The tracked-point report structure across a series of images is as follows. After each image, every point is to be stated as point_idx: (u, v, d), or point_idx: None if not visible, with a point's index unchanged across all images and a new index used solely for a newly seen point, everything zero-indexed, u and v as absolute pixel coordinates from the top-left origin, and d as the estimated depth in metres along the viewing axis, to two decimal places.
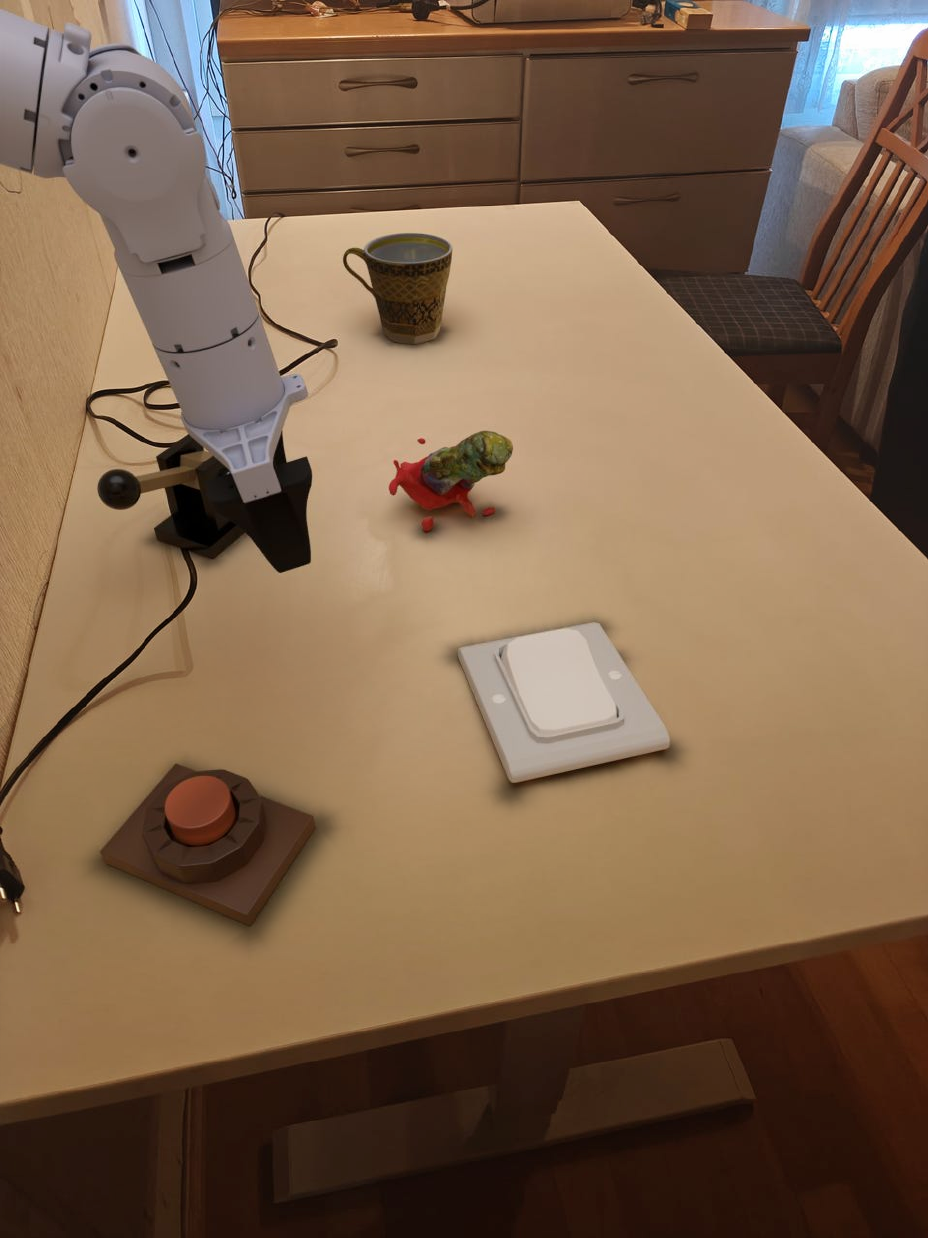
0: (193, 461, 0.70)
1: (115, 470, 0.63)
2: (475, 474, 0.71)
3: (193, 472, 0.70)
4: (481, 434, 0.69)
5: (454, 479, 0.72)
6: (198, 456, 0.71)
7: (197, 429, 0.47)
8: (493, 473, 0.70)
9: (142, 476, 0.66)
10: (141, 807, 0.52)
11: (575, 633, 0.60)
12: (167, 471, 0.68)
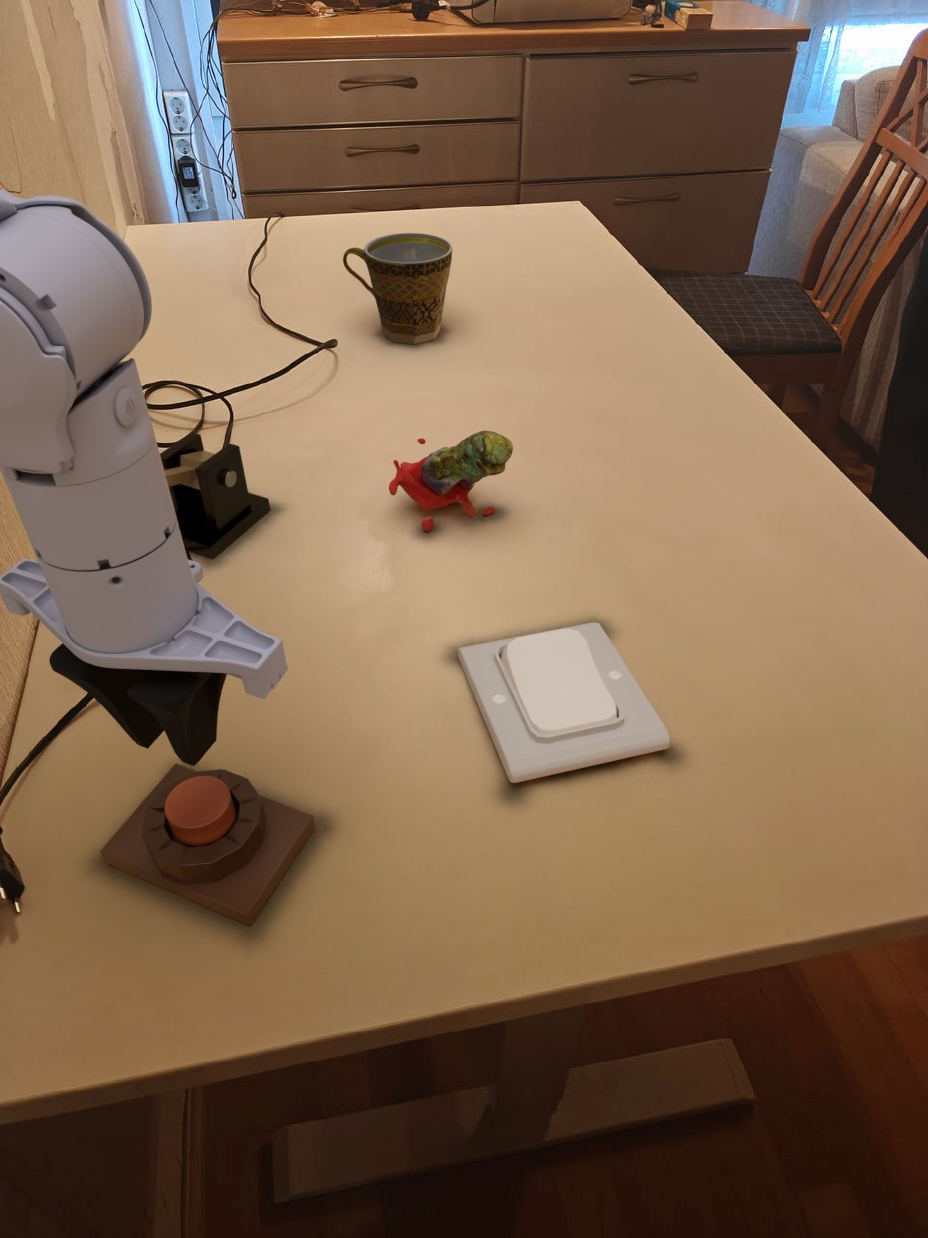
0: (193, 461, 0.70)
1: None
2: (475, 474, 0.71)
3: (193, 472, 0.70)
4: (481, 434, 0.69)
5: (454, 479, 0.72)
6: (198, 456, 0.71)
7: (134, 653, 0.37)
8: (493, 473, 0.70)
9: None
10: (141, 807, 0.52)
11: (575, 634, 0.60)
12: (167, 471, 0.68)
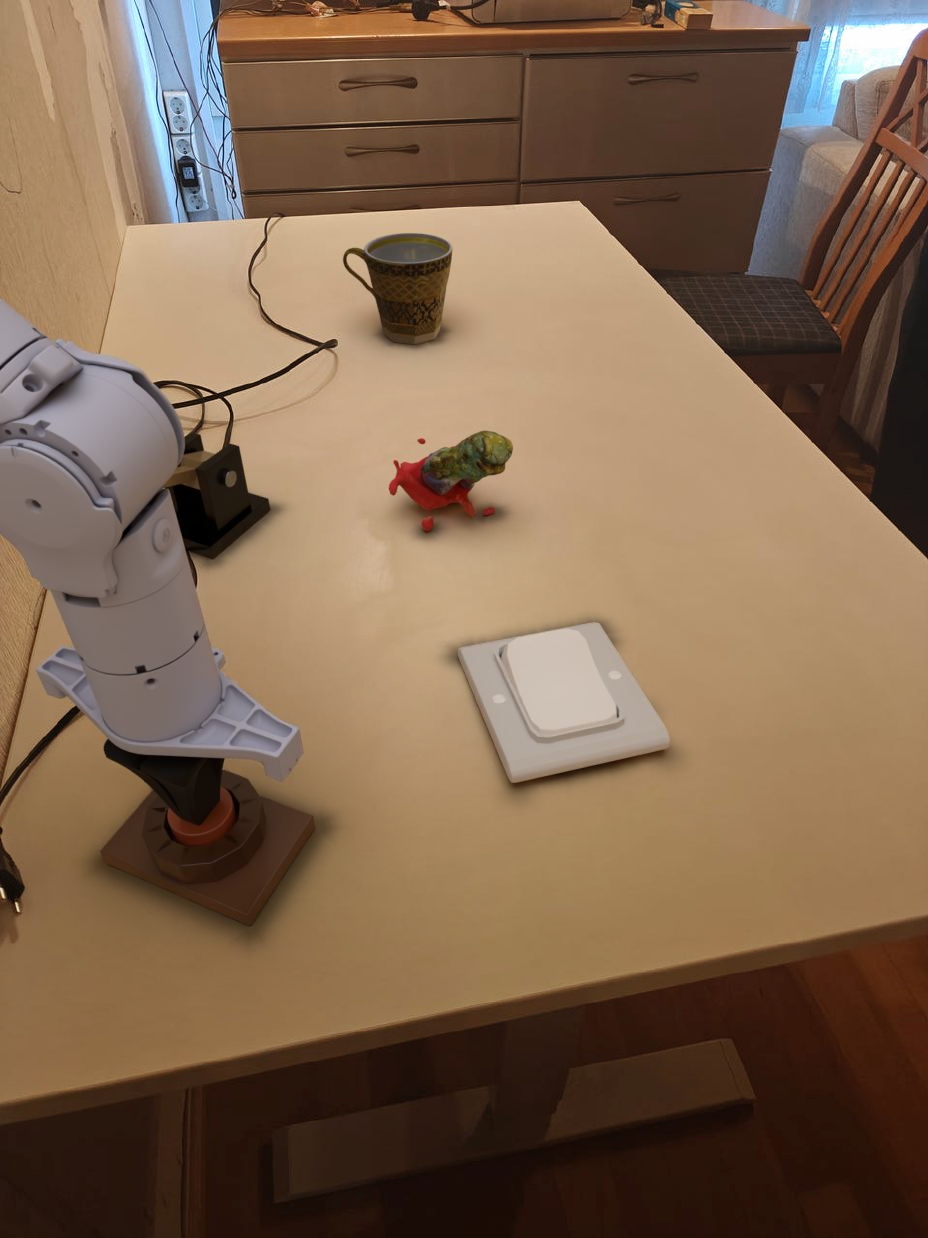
0: (193, 461, 0.70)
1: None
2: (475, 474, 0.71)
3: (193, 472, 0.70)
4: (481, 434, 0.69)
5: (454, 479, 0.72)
6: (198, 456, 0.71)
7: (166, 741, 0.41)
8: (493, 473, 0.70)
9: None
10: (141, 807, 0.52)
11: (575, 633, 0.60)
12: None
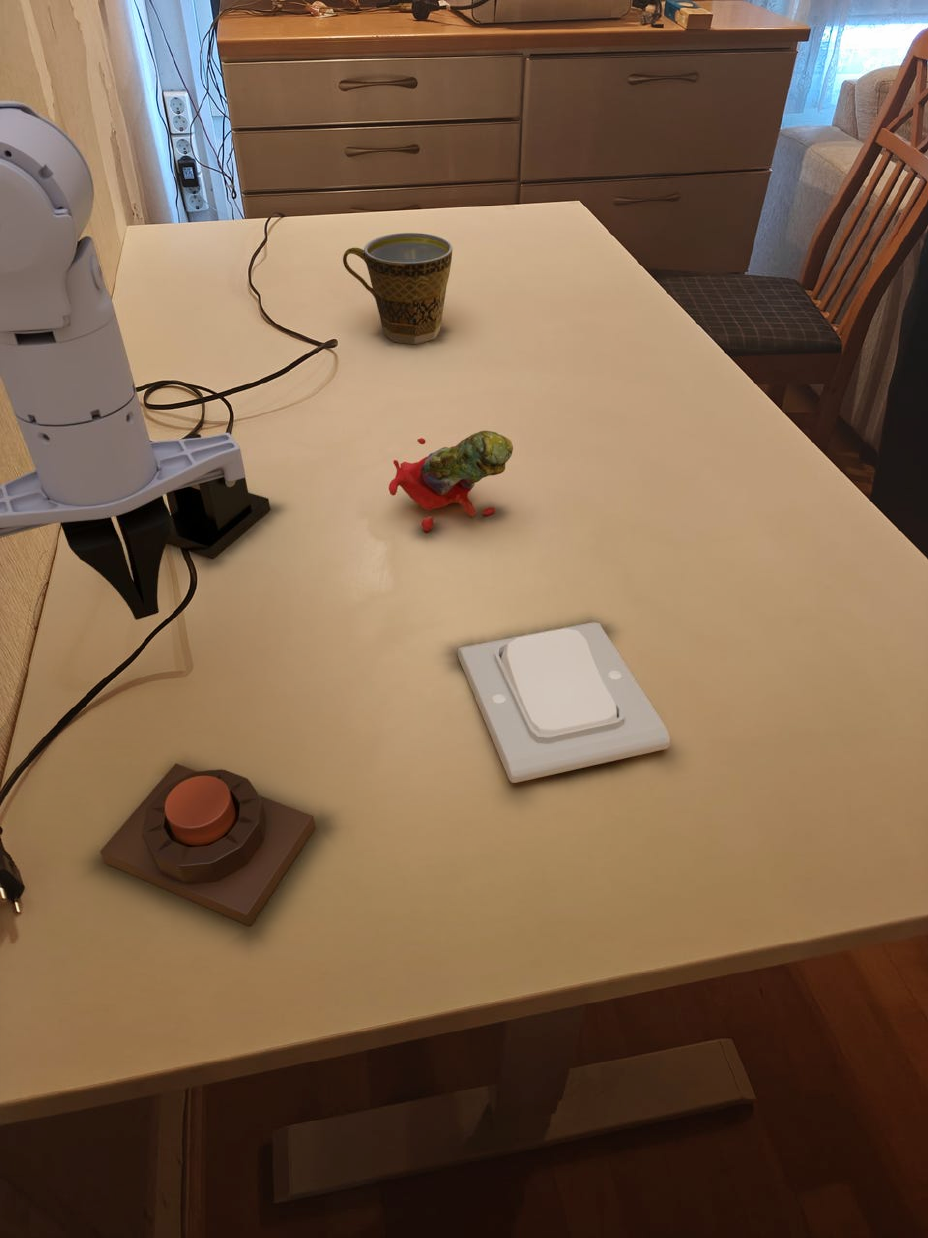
0: None
1: None
2: (475, 474, 0.71)
3: None
4: (481, 434, 0.69)
5: (454, 479, 0.72)
6: None
7: (148, 485, 0.45)
8: (493, 473, 0.70)
9: None
10: (141, 807, 0.52)
11: (575, 633, 0.60)
12: None
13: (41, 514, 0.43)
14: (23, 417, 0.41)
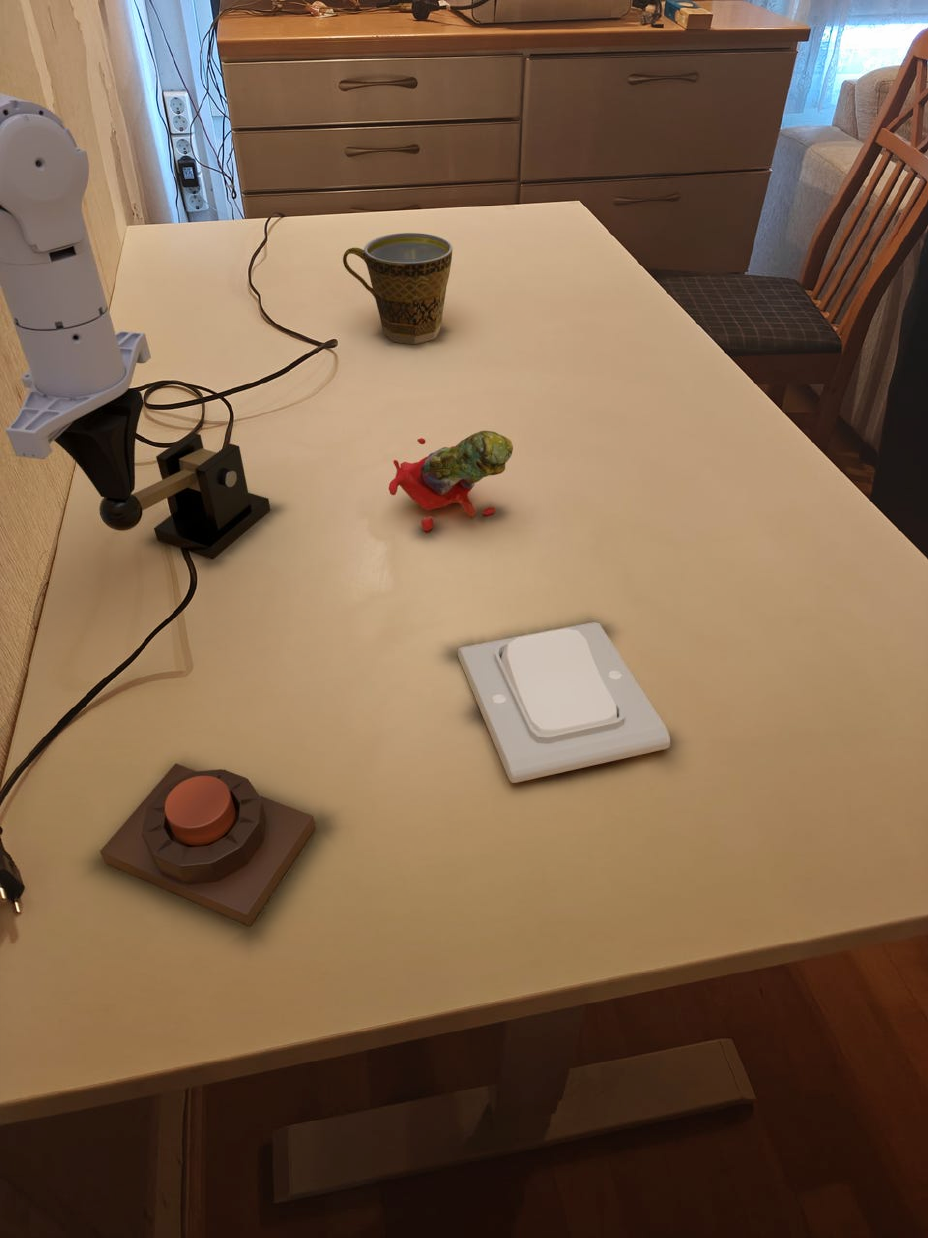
0: (192, 465, 0.70)
1: None
2: (475, 474, 0.71)
3: (192, 476, 0.70)
4: (481, 434, 0.69)
5: (454, 479, 0.72)
6: (196, 458, 0.71)
7: (126, 366, 0.59)
8: (493, 473, 0.70)
9: (142, 491, 0.67)
10: (141, 807, 0.52)
11: (575, 633, 0.60)
12: (167, 480, 0.69)
13: (83, 405, 0.55)
14: (48, 327, 0.53)
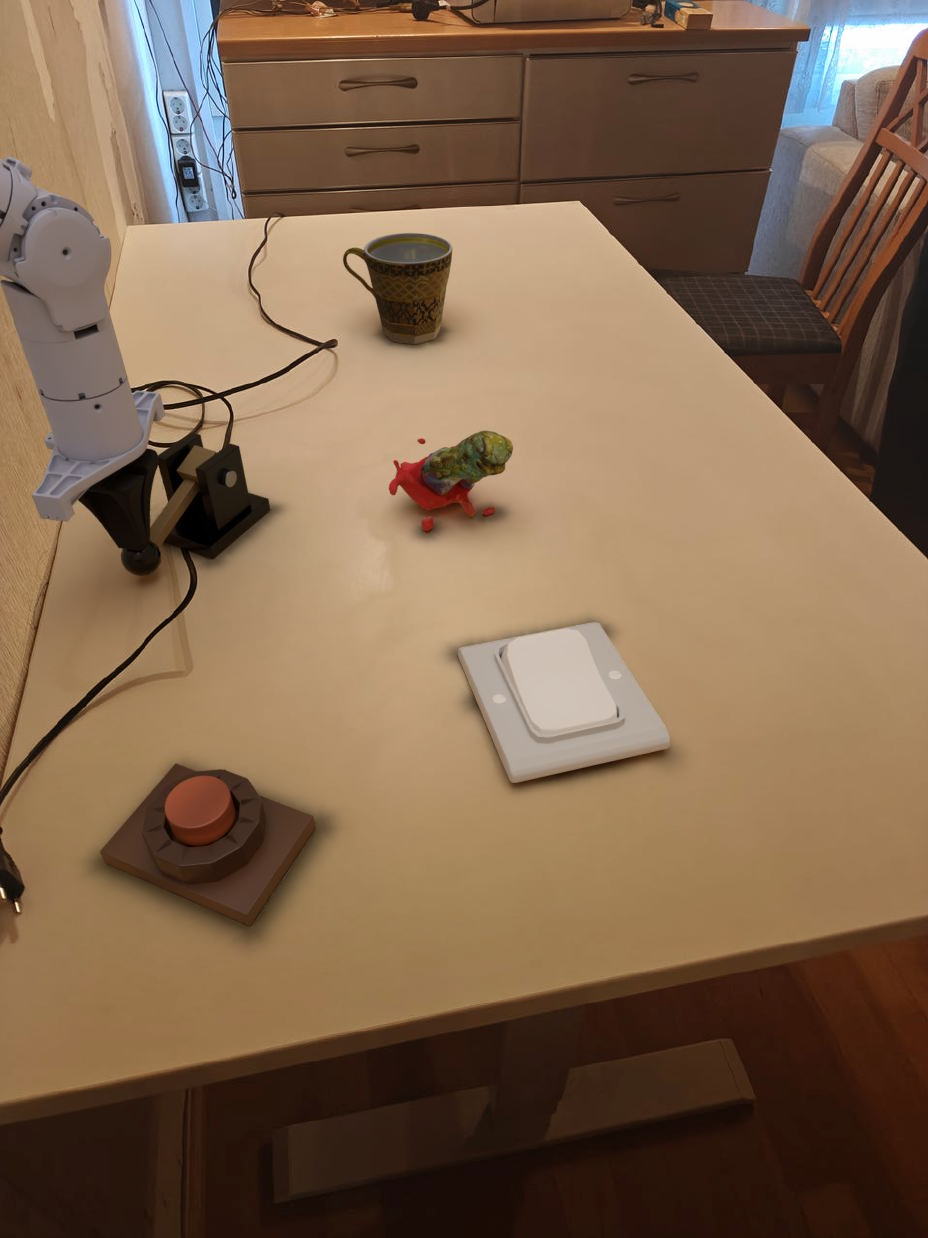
0: (190, 476, 0.70)
1: (128, 549, 0.67)
2: (475, 474, 0.71)
3: (194, 486, 0.71)
4: (481, 434, 0.69)
5: (454, 479, 0.72)
6: (192, 466, 0.70)
7: (143, 428, 0.62)
8: (493, 473, 0.70)
9: (153, 527, 0.69)
10: (141, 807, 0.52)
11: (575, 633, 0.60)
12: (172, 502, 0.70)
13: (104, 469, 0.58)
14: (72, 398, 0.56)
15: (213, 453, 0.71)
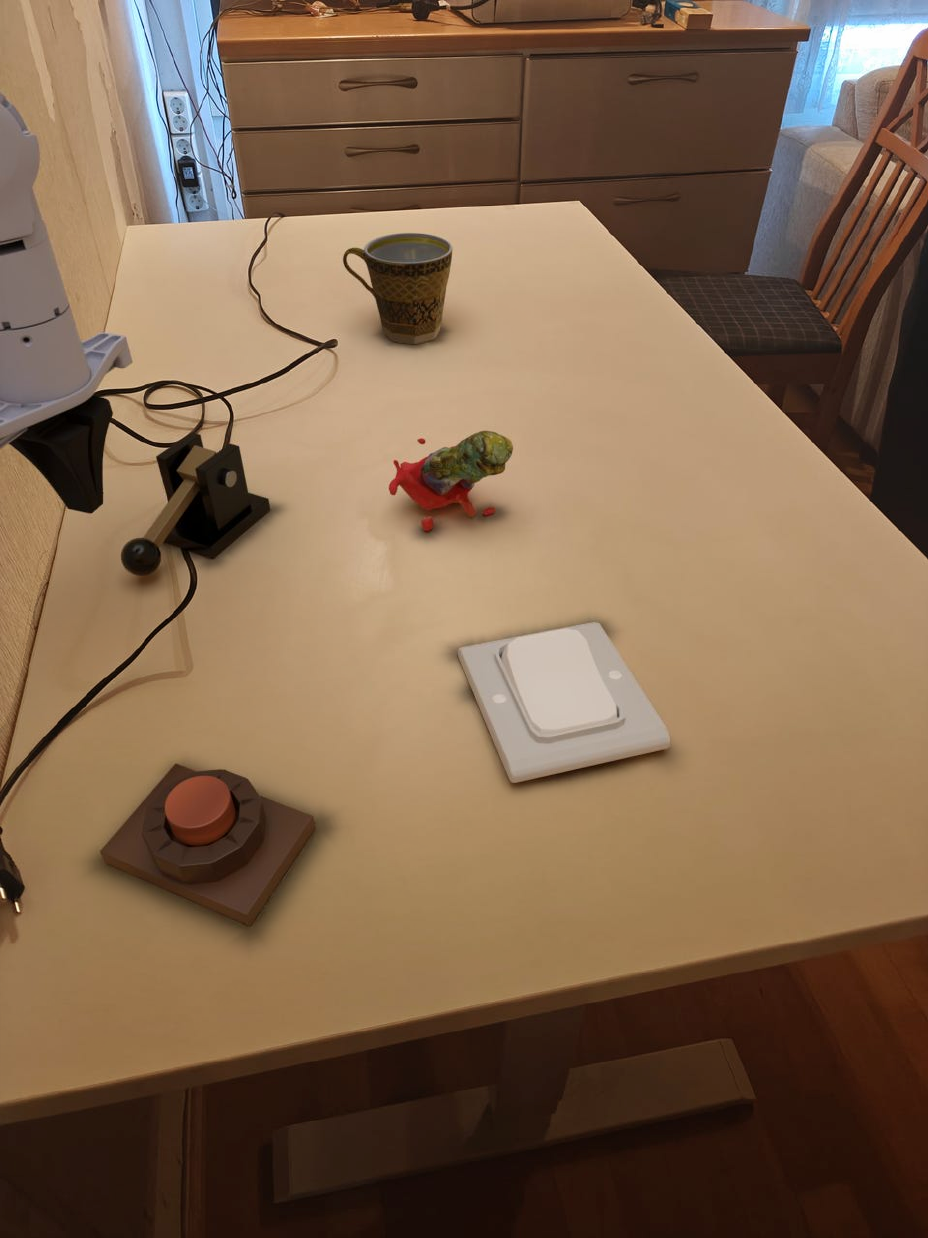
0: (190, 476, 0.70)
1: (128, 549, 0.67)
2: (475, 474, 0.71)
3: (194, 486, 0.71)
4: (481, 434, 0.69)
5: (454, 479, 0.72)
6: (192, 466, 0.70)
7: (92, 372, 0.54)
8: (493, 473, 0.70)
9: (153, 527, 0.69)
10: (141, 807, 0.52)
11: (575, 633, 0.60)
12: (172, 502, 0.70)
13: (33, 414, 0.50)
14: None
15: (213, 453, 0.71)
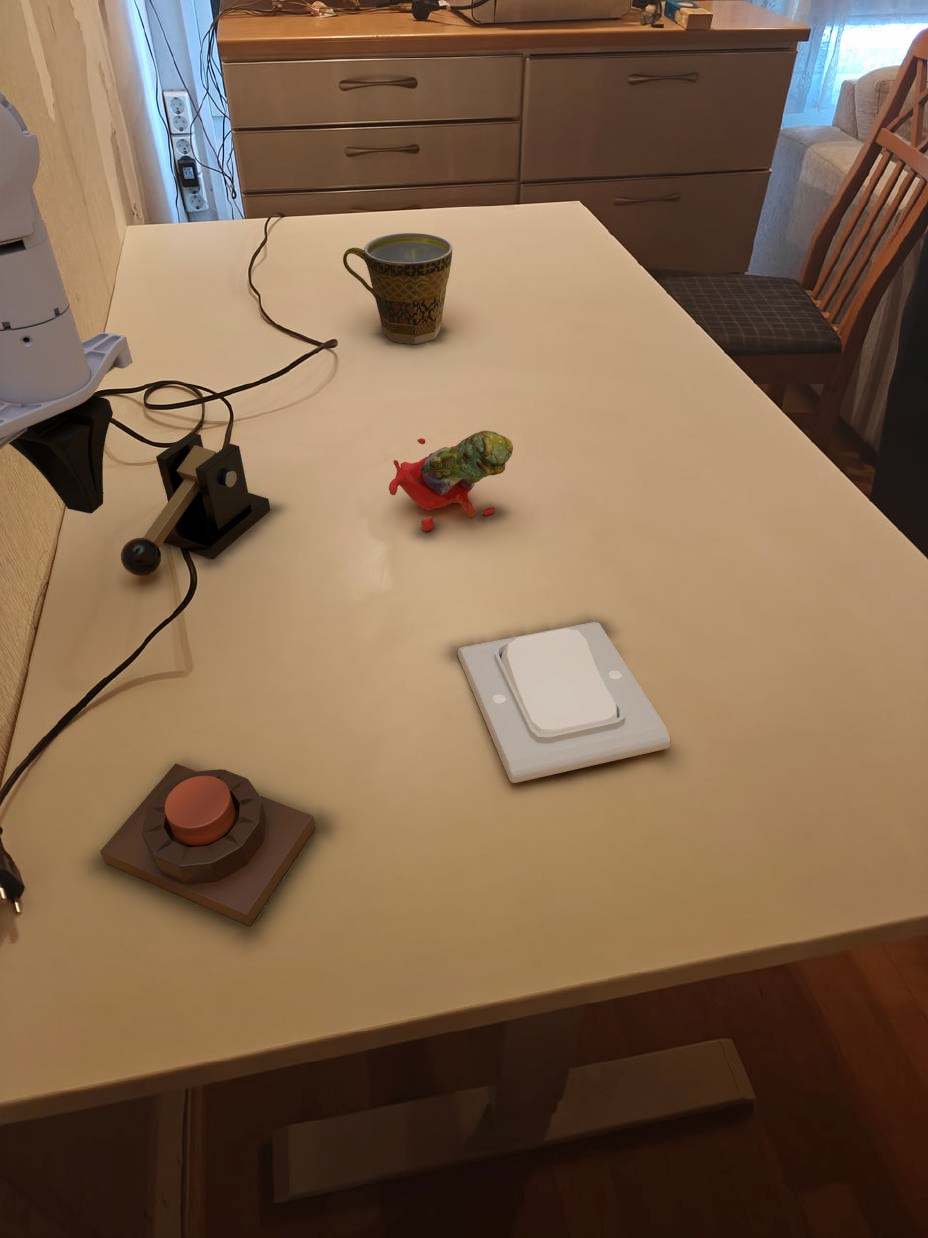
0: (190, 476, 0.70)
1: (128, 549, 0.67)
2: (475, 474, 0.71)
3: (194, 486, 0.71)
4: (481, 434, 0.69)
5: (454, 479, 0.72)
6: (192, 466, 0.70)
7: (92, 372, 0.54)
8: (493, 473, 0.70)
9: (153, 527, 0.69)
10: (141, 807, 0.52)
11: (575, 633, 0.60)
12: (172, 502, 0.70)
13: (33, 414, 0.50)
14: None
15: (213, 453, 0.71)
